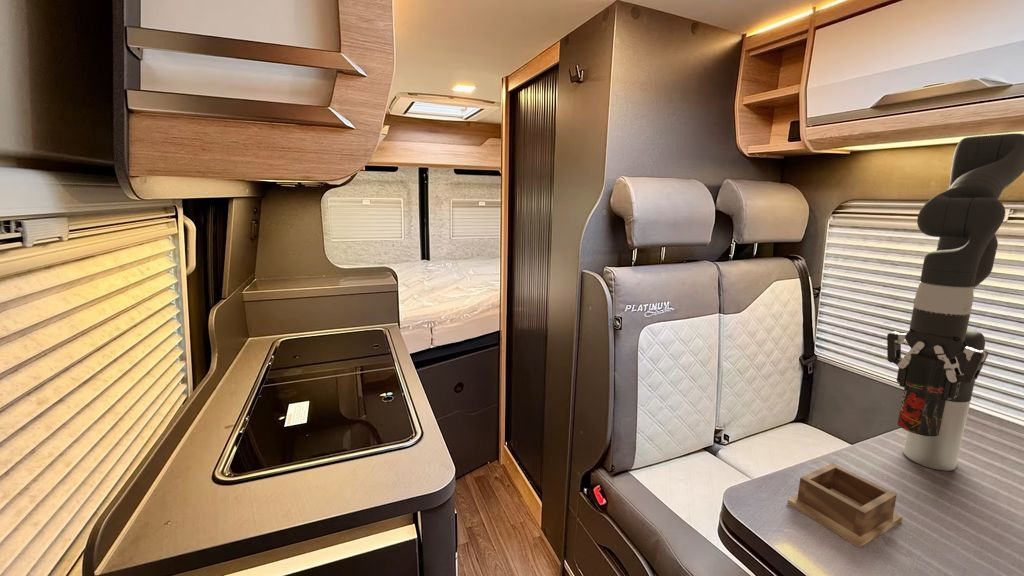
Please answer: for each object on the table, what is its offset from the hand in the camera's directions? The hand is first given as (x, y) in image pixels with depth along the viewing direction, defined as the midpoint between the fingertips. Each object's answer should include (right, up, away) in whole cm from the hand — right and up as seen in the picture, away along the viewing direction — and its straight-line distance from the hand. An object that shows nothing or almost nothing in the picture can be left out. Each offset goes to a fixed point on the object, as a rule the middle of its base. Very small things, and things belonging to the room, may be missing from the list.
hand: (924, 392), depth 83 cm
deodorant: (0, -8, +2) cm, 8 cm away
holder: (-13, -25, +4) cm, 29 cm away
